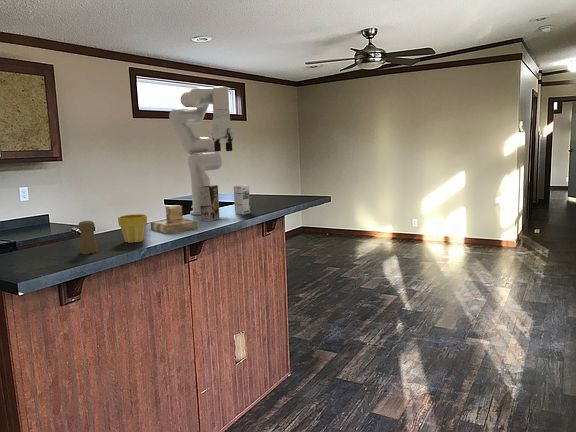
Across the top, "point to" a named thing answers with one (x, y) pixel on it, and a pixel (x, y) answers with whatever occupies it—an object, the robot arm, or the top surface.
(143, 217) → the plant pot
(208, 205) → the coffee box
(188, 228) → the dock
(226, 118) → the robot arm
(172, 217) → the tan upright block
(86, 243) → the cork
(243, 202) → the syrup box
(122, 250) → the top surface
